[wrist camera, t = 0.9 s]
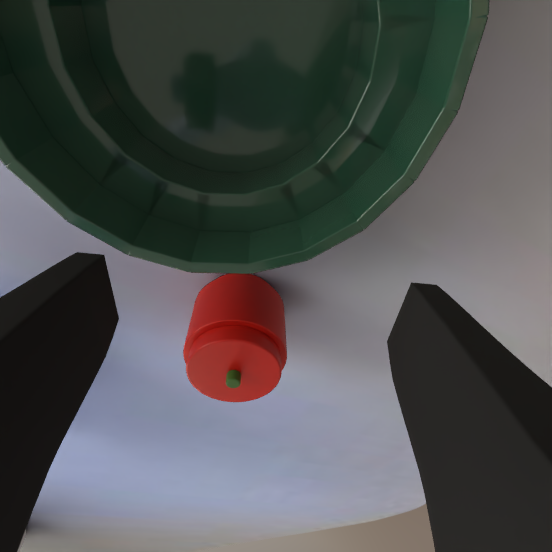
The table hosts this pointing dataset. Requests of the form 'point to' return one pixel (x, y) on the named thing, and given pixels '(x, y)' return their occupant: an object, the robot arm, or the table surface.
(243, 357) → the pepper
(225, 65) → the green round bowl
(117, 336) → the table surface
